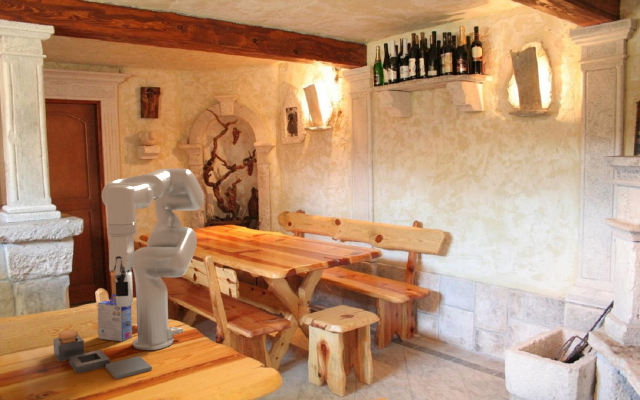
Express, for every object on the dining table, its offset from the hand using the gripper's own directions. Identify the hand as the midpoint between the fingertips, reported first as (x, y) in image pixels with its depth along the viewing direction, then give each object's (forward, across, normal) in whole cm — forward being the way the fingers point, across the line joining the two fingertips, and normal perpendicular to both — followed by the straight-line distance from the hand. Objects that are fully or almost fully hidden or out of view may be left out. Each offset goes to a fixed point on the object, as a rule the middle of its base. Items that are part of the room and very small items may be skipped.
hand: (124, 292), depth 152 cm
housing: (+22, -12, -20) cm, 32 cm away
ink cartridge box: (+23, -26, -10) cm, 36 cm away
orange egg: (+21, -12, -20) cm, 31 cm away
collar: (+22, -4, -12) cm, 26 cm away
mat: (+22, 0, 0) cm, 22 cm away
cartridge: (+3, 0, 0) cm, 3 cm away
